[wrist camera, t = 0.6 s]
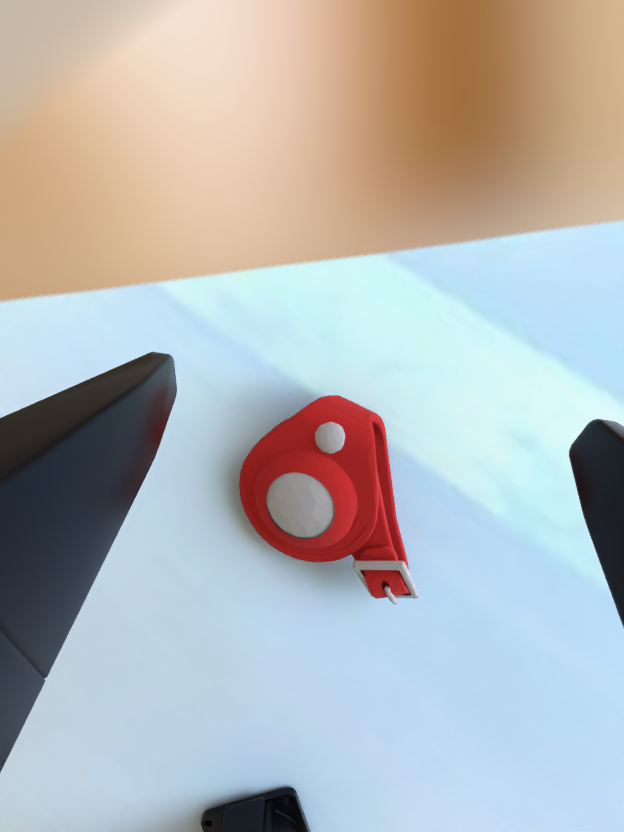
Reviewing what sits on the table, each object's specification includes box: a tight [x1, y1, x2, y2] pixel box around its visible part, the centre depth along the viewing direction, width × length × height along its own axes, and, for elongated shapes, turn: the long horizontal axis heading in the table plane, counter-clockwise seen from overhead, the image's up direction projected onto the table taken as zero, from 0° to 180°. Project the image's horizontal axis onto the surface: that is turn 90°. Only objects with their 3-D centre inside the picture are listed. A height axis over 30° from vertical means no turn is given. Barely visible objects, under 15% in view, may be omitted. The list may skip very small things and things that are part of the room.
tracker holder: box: [239, 396, 419, 604], centre depth 22 cm, size 12×4×10 cm
